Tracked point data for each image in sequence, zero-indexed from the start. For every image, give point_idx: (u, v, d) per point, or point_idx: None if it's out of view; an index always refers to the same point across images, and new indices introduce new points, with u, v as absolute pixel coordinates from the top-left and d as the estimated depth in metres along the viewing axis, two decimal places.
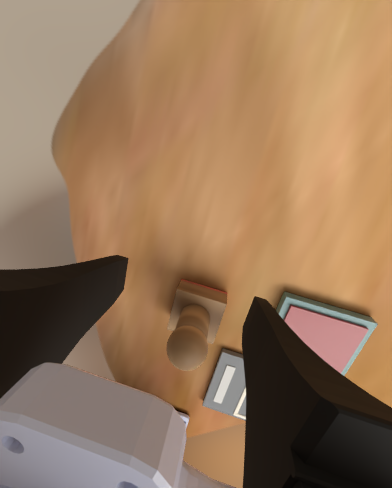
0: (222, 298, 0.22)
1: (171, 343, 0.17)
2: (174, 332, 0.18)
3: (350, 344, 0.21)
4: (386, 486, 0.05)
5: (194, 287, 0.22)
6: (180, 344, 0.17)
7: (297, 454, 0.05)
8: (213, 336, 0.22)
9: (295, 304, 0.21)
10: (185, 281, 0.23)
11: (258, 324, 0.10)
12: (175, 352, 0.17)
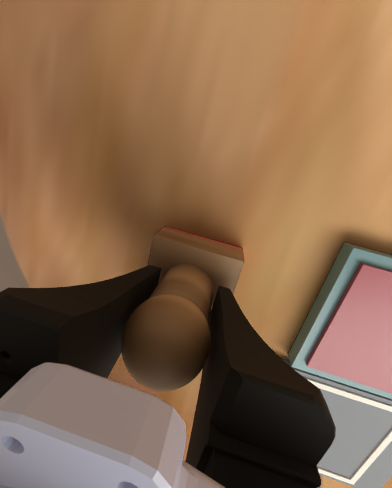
0: (235, 253, 0.12)
1: (128, 329, 0.08)
2: (138, 307, 0.08)
3: None
4: (296, 454, 0.05)
5: (186, 237, 0.13)
6: (147, 331, 0.07)
7: (215, 425, 0.05)
8: None
9: (370, 262, 0.11)
10: (171, 229, 0.13)
11: (216, 311, 0.10)
12: (134, 349, 0.07)
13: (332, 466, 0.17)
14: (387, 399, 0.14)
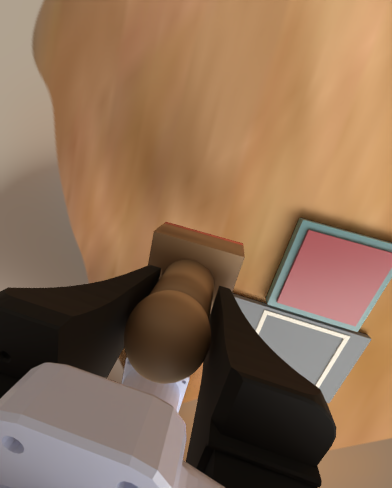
0: (235, 249, 0.12)
1: (131, 324, 0.08)
2: (140, 302, 0.09)
3: (376, 275, 0.18)
4: (296, 454, 0.05)
5: (186, 232, 0.13)
6: (149, 326, 0.07)
7: (215, 425, 0.05)
8: None
9: (313, 228, 0.18)
10: (172, 225, 0.13)
11: (216, 311, 0.10)
12: (137, 343, 0.07)
13: None
14: (332, 327, 0.21)
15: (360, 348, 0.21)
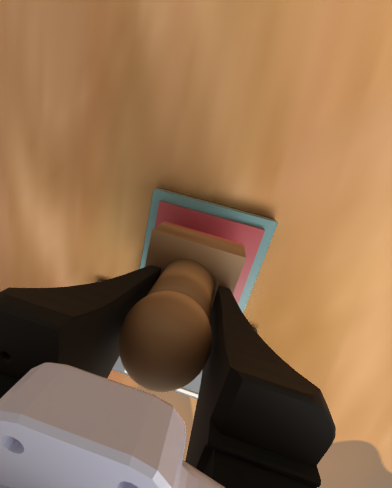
0: (236, 249, 0.12)
1: (126, 327, 0.07)
2: (137, 304, 0.08)
3: None
4: (296, 454, 0.05)
5: (185, 232, 0.12)
6: (146, 329, 0.07)
7: (214, 425, 0.05)
8: None
9: (166, 199, 0.15)
10: (171, 224, 0.13)
11: (216, 311, 0.10)
12: (132, 348, 0.07)
13: (189, 385, 0.20)
14: None
15: None
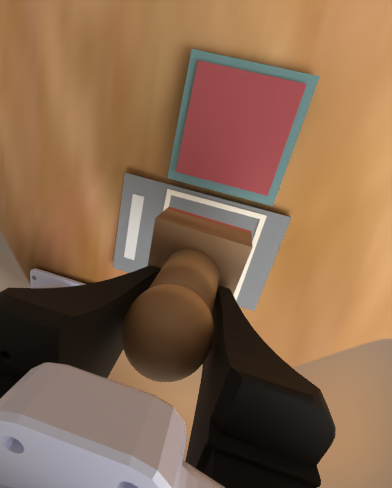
0: (243, 238, 0.11)
1: (128, 321, 0.07)
2: (139, 297, 0.08)
3: (283, 118, 0.15)
4: (296, 454, 0.05)
5: (190, 219, 0.12)
6: (147, 325, 0.07)
7: (214, 425, 0.05)
8: None
9: (205, 60, 0.15)
10: (175, 210, 0.13)
11: (216, 311, 0.10)
12: (134, 343, 0.07)
13: None
14: (246, 205, 0.17)
15: (280, 231, 0.18)
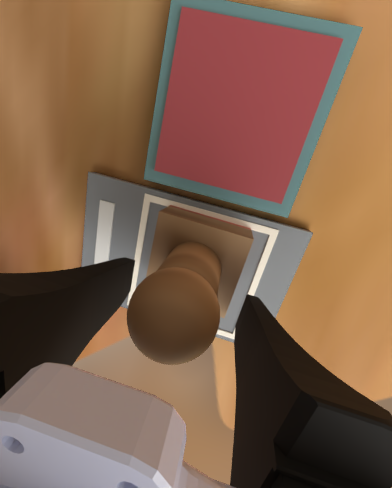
0: (244, 232, 0.12)
1: (135, 300, 0.07)
2: (145, 279, 0.08)
3: (307, 91, 0.10)
4: (367, 479, 0.05)
5: (192, 215, 0.12)
6: (155, 300, 0.07)
7: (279, 448, 0.05)
8: (225, 304, 0.12)
9: (192, 7, 0.10)
10: (177, 207, 0.13)
11: (249, 321, 0.10)
12: (142, 319, 0.07)
13: None
14: (251, 216, 0.13)
15: (297, 252, 0.13)
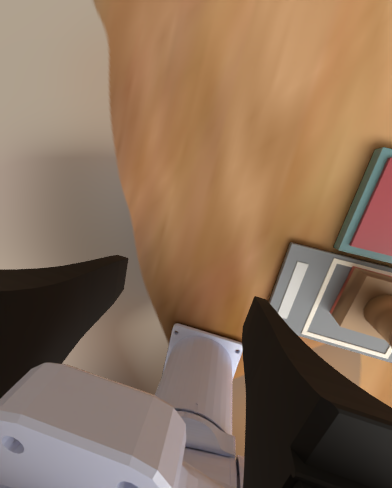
0: None
1: None
2: None
3: None
4: (386, 486, 0.05)
5: (377, 275, 0.18)
6: None
7: (297, 454, 0.05)
8: None
9: None
10: (360, 268, 0.19)
11: (258, 324, 0.10)
12: None
13: (370, 343, 0.21)
14: None
15: None
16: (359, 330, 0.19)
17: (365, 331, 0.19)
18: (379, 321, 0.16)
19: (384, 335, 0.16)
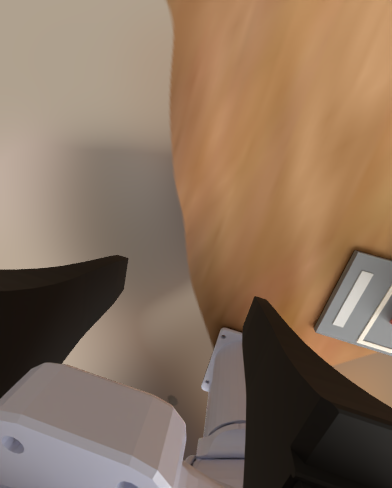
0: None
1: None
2: None
3: None
4: (386, 486, 0.05)
5: None
6: None
7: (297, 454, 0.05)
8: None
9: None
10: None
11: (258, 324, 0.10)
12: None
13: None
14: None
15: None
16: None
17: None
18: None
19: None
